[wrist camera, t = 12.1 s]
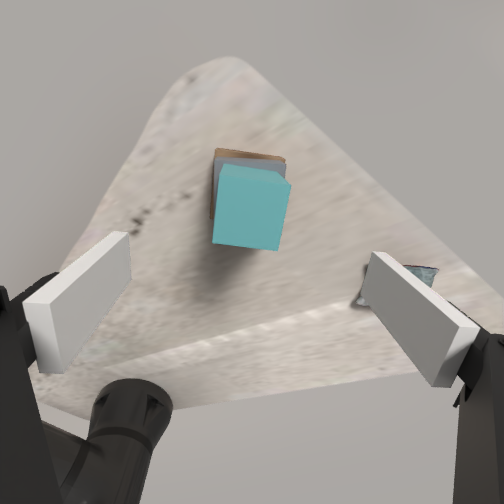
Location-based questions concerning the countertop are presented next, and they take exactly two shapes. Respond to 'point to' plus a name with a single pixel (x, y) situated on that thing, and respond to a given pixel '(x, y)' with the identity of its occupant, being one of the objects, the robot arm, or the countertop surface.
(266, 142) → the countertop surface
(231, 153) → the walnut base
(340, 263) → the countertop surface
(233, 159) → the charcoal block
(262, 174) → the teal block
